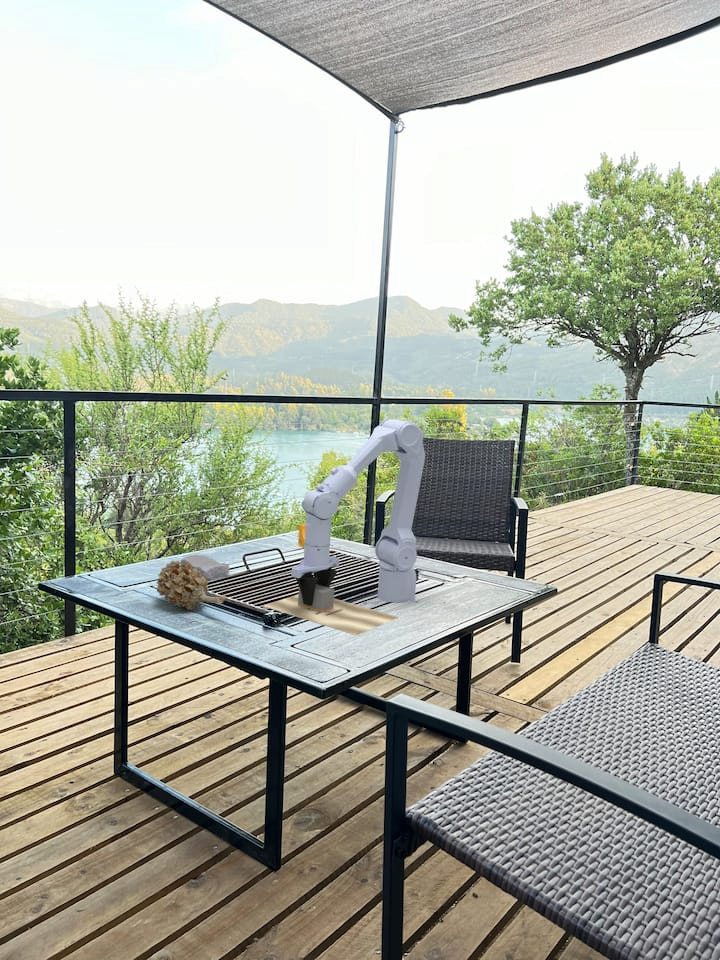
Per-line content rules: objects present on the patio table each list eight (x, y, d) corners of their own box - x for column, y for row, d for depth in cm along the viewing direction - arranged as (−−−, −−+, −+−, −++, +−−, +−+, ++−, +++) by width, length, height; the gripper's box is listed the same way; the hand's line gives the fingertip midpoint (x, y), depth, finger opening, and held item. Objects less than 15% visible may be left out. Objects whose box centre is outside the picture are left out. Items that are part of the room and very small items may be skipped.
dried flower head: (143, 603, 177) (144, 561, 175) (175, 594, 185) (176, 553, 183) (213, 627, 165) (215, 581, 163) (245, 616, 173) (246, 572, 171)
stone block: (206, 572, 212) (175, 570, 204) (210, 555, 211) (179, 552, 204) (233, 584, 203) (201, 583, 196) (237, 566, 203) (205, 564, 196)
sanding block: (309, 601, 181) (310, 582, 180) (333, 608, 177) (334, 589, 176) (298, 605, 178) (299, 585, 177) (322, 612, 174) (323, 592, 173)
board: (308, 597, 189) (308, 590, 189) (398, 623, 174) (398, 616, 174) (262, 612, 176) (262, 605, 176) (355, 642, 161) (356, 635, 161)
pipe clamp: (327, 554, 231) (328, 532, 230) (314, 555, 229) (315, 533, 228) (311, 544, 242) (312, 523, 241) (298, 545, 240) (299, 524, 239)
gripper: (323, 535, 183) (320, 591, 185) (282, 545, 172) (279, 605, 174) (347, 541, 179) (344, 598, 181) (307, 551, 168) (303, 612, 170)
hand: (314, 602), depth 177 cm, fingers closed on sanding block, 4 cm apart
